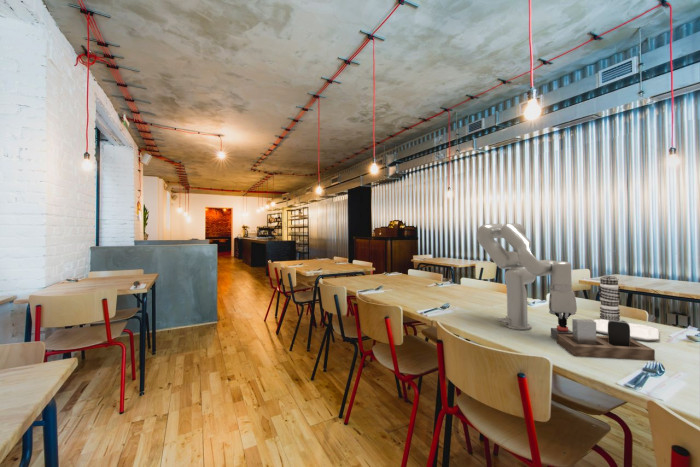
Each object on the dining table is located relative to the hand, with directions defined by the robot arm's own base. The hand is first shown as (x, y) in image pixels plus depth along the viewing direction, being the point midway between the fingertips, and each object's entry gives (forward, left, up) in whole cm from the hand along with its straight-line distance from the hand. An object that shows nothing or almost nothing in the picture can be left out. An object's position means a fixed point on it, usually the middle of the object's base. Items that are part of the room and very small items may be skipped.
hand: (562, 326), depth 142 cm
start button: (0, 0, -2) cm, 2 cm away
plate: (+34, +15, -6) cm, 38 cm away
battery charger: (+15, -13, -5) cm, 20 cm away
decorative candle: (+39, +34, -6) cm, 52 cm away
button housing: (0, 0, -6) cm, 6 cm away
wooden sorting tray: (+9, -13, -6) cm, 17 cm away
